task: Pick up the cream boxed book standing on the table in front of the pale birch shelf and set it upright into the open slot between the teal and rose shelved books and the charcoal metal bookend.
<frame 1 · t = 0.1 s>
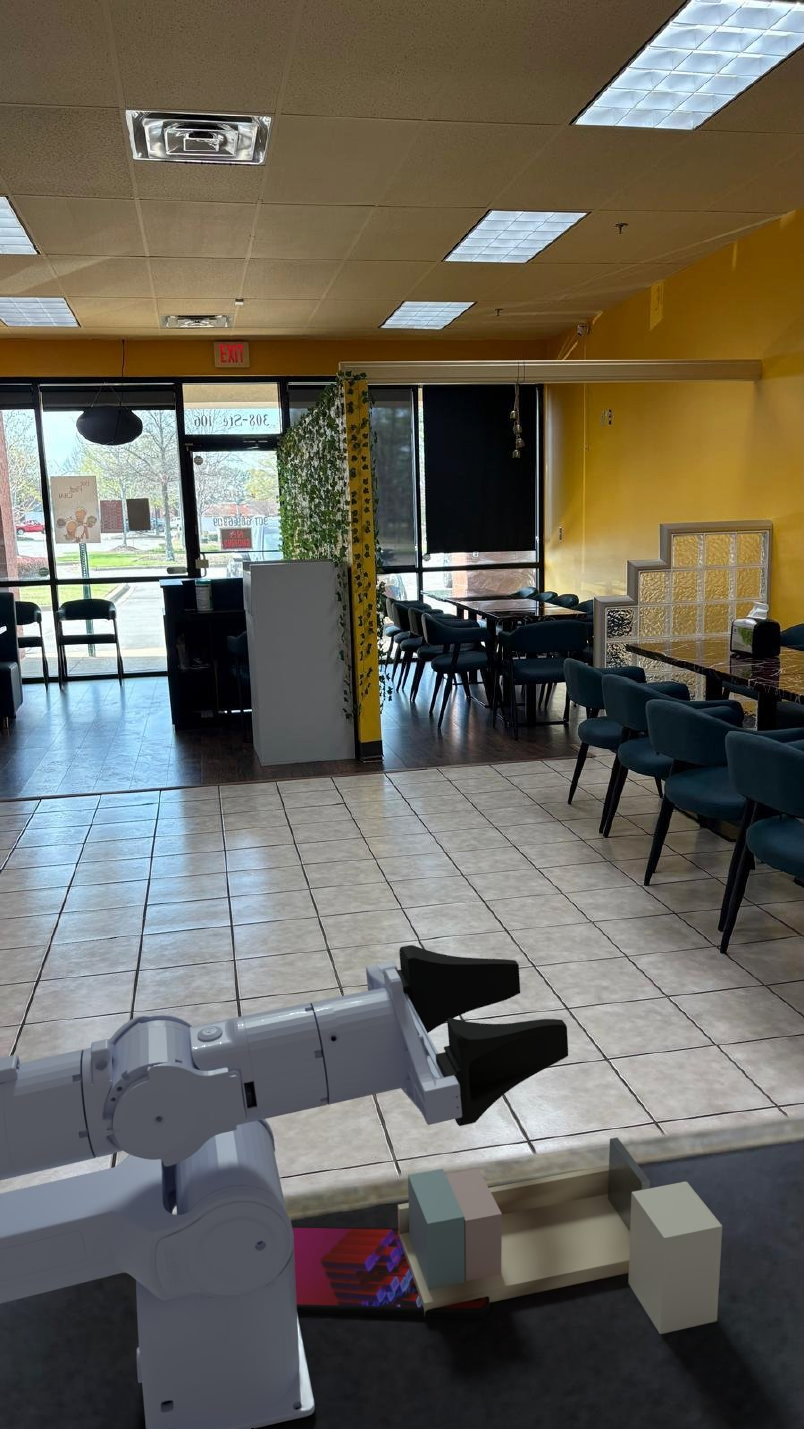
hand: (540, 1005, 62), 22 cm above the countertop, tool horizontal, fingers open, 7 cm apart
bookend: (626, 1233, 73), resting on shelf board
shelved books: (454, 1268, 70), resting on shelf board
shelf board: (535, 1251, 71), on the countertop
book: (671, 1301, 67), on the countertop
smartphone: (379, 1278, 70), on the countertop
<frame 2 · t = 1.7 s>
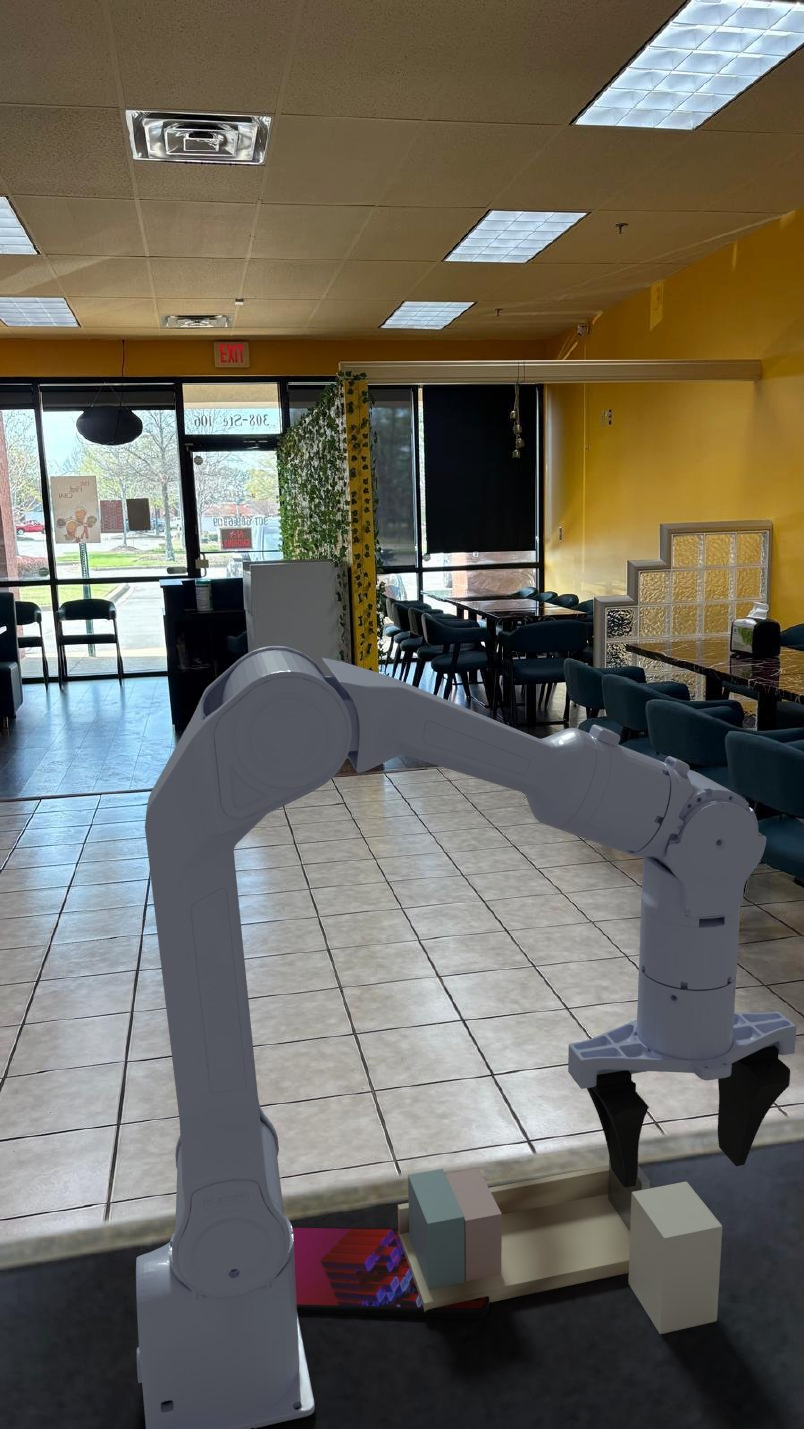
hand: (678, 1166, 65), 10 cm above the countertop, tool pointing down, fingers open, 7 cm apart
nothing on the countertop moved.
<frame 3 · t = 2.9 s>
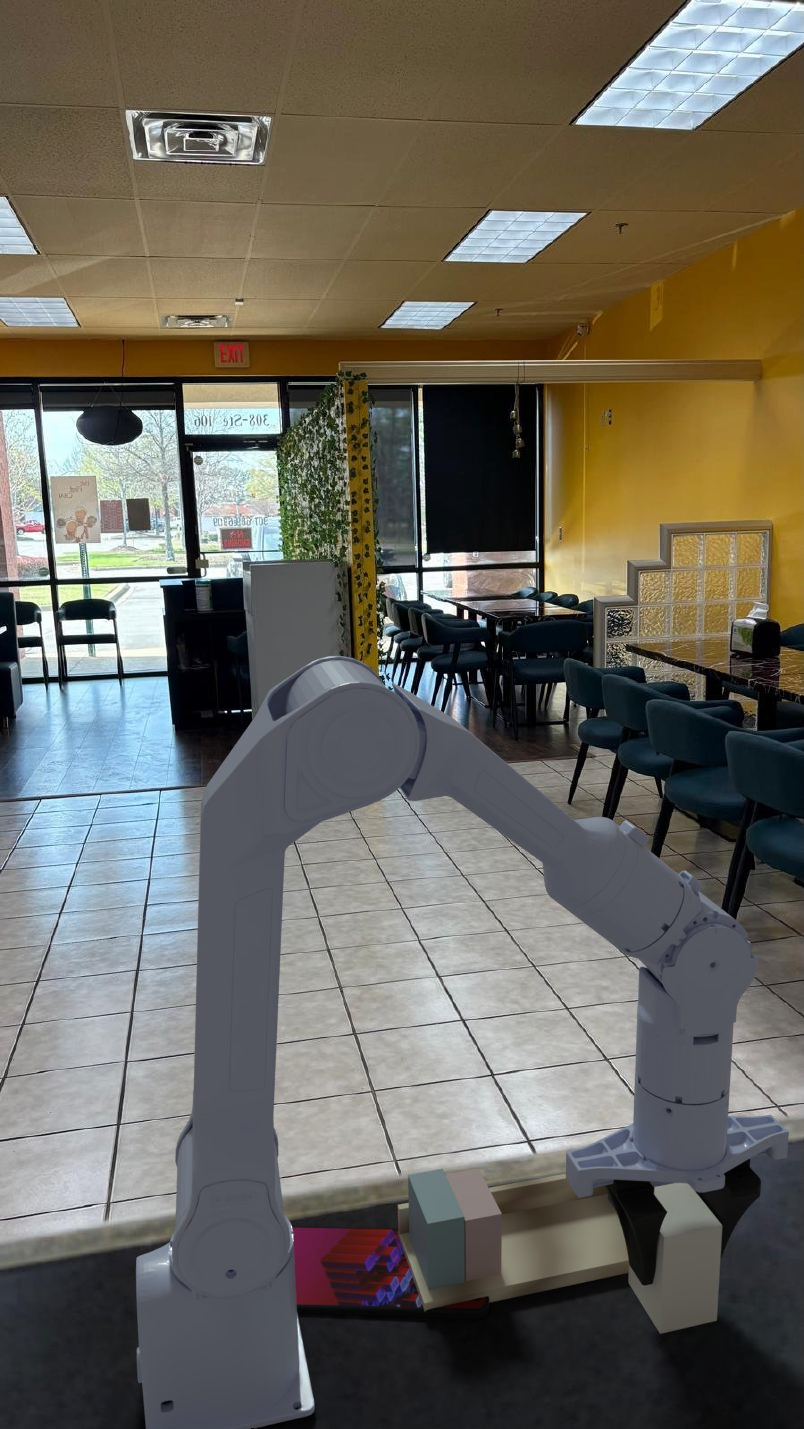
hand: (673, 1266, 66), 3 cm above the countertop, tool pointing down, fingers closed on book, 4 cm apart
book: (671, 1301, 67), on the countertop, touching gripper
everything else where it was.
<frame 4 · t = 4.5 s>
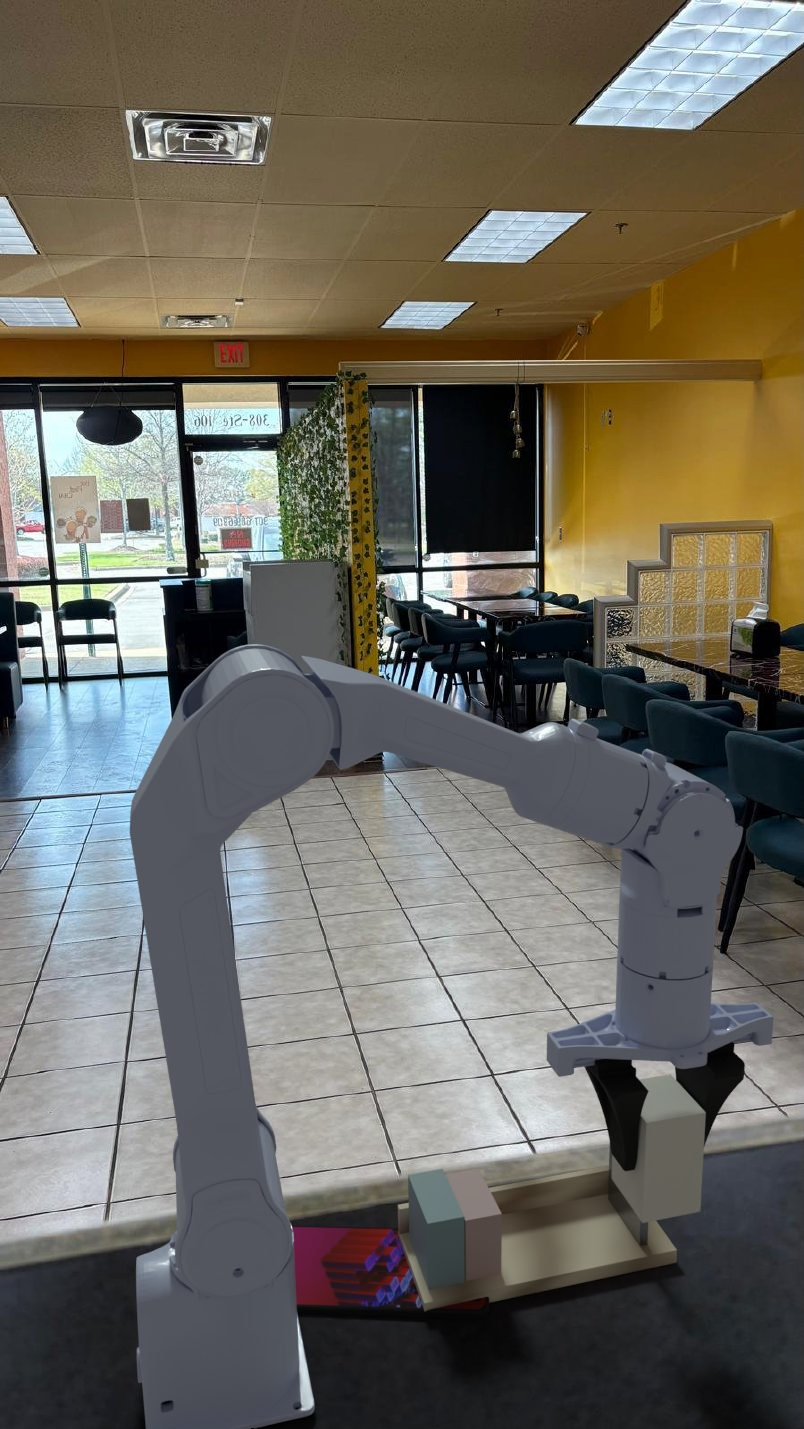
hand: (655, 1155, 65), 10 cm above the countertop, tool pointing down, fingers closed on book, 4 cm apart
book: (654, 1194, 66), point 7 cm above the countertop, touching gripper
everything else where it was.
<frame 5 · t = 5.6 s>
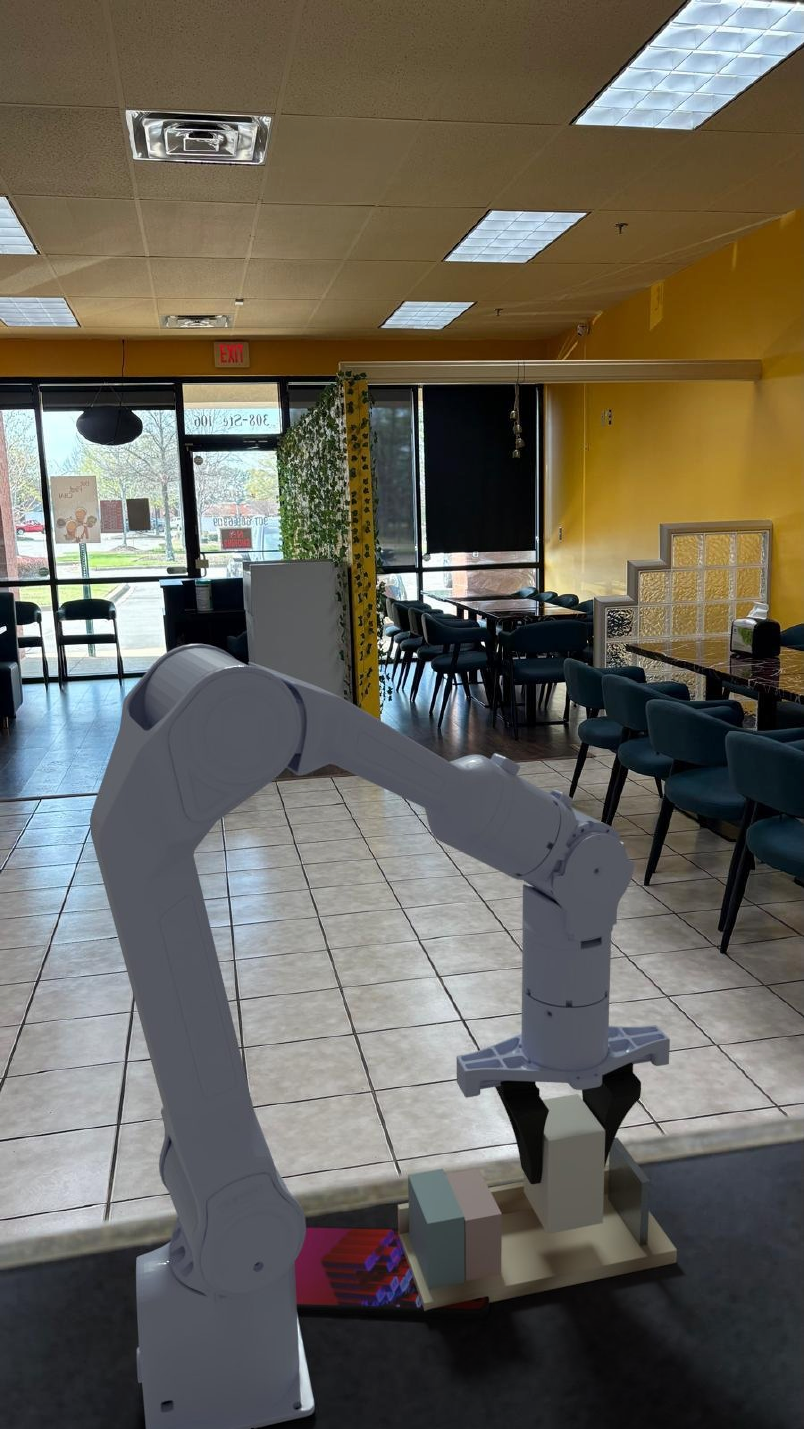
hand: (562, 1168, 70), 7 cm above the countertop, tool pointing down, fingers closed on book, 4 cm apart
book: (562, 1206, 70), point 4 cm above the countertop, touching gripper
everything else where it was.
when the fingers open (4 cm above the countertop, at t = 6.4 s): book stays where it is, resting on shelf board.
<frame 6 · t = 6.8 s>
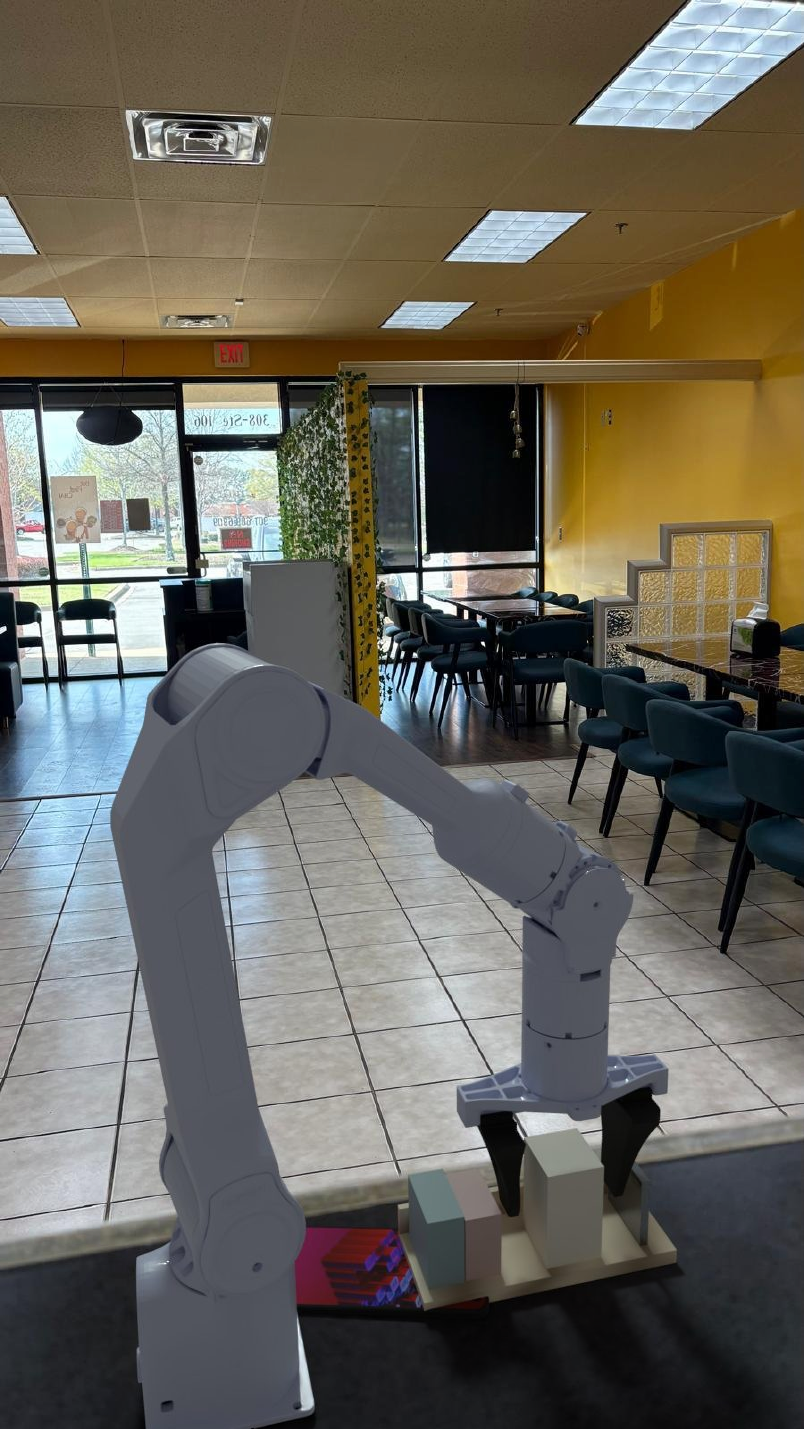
hand: (561, 1197, 70), 4 cm above the countertop, tool pointing down, fingers open, 7 cm apart
book: (561, 1240, 71), point 1 cm above the countertop, touching shelf board
everything else where it was.
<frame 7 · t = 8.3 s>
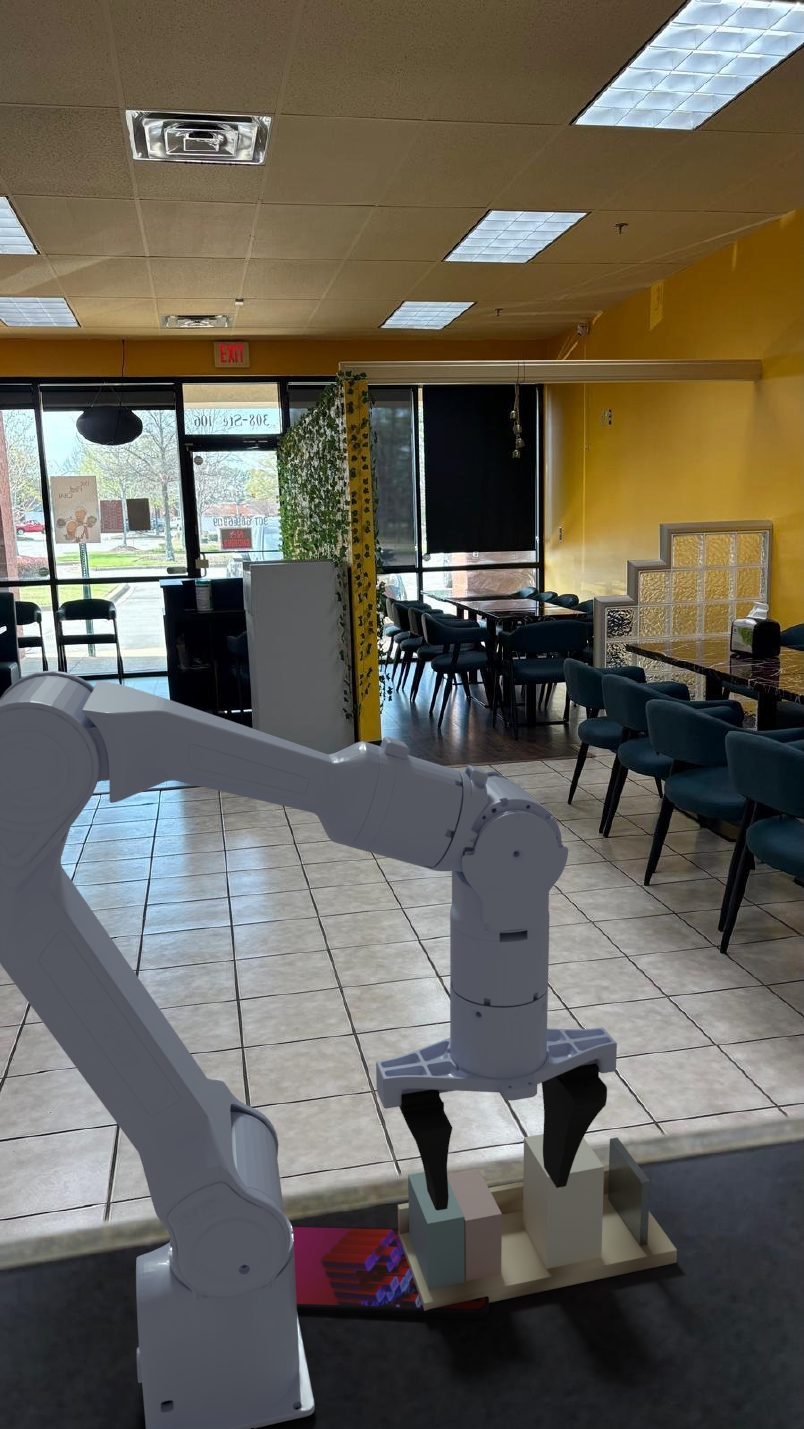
hand: (497, 1187, 62), 10 cm above the countertop, tool pointing down, fingers open, 7 cm apart
nothing on the countertop moved.
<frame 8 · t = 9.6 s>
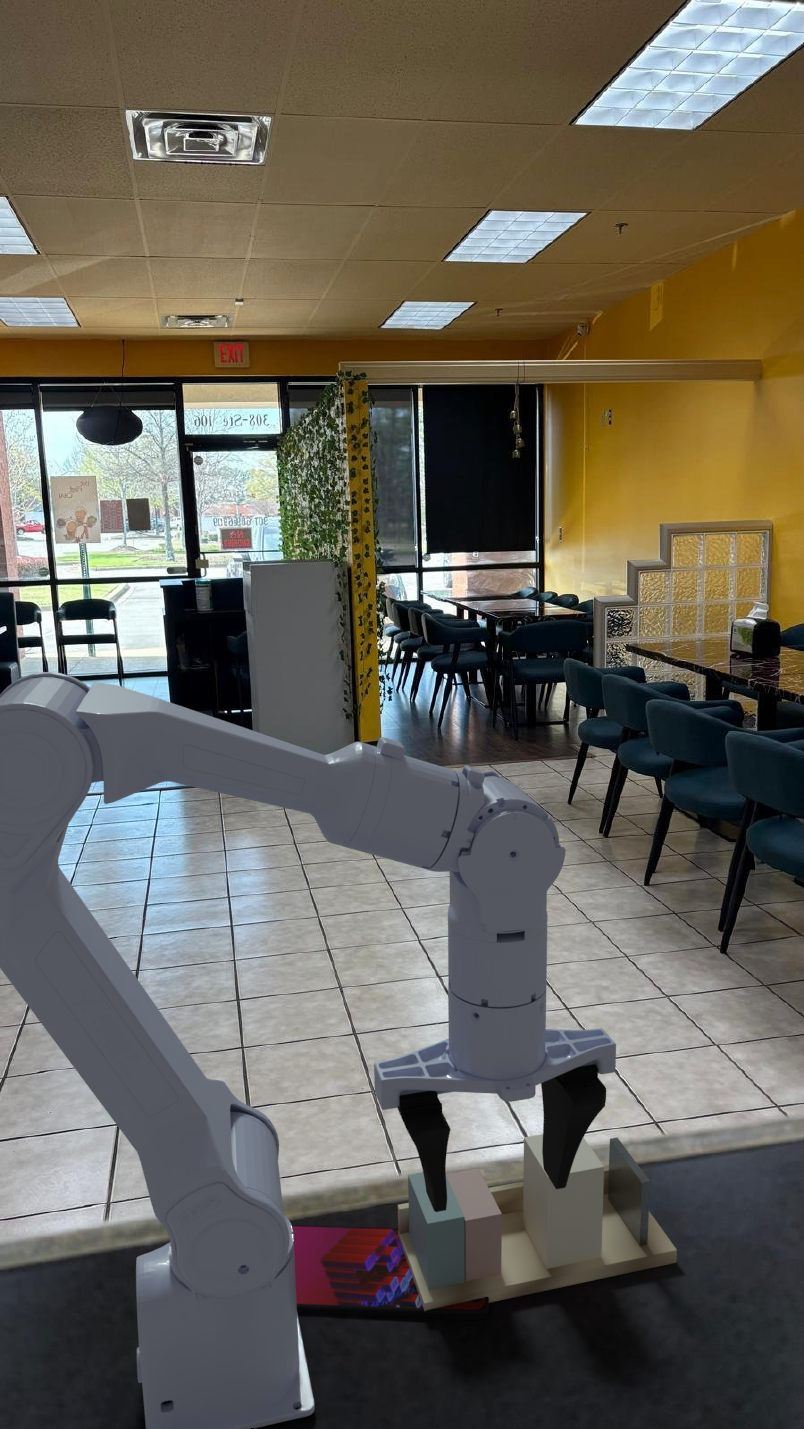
hand: (496, 1189, 62), 10 cm above the countertop, tool pointing down, fingers open, 7 cm apart
nothing on the countertop moved.
at the end: book 0.4 cm from the target spot, point 1.0 cm above the countertop; book tilted 0°; the gripper is holding nothing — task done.
